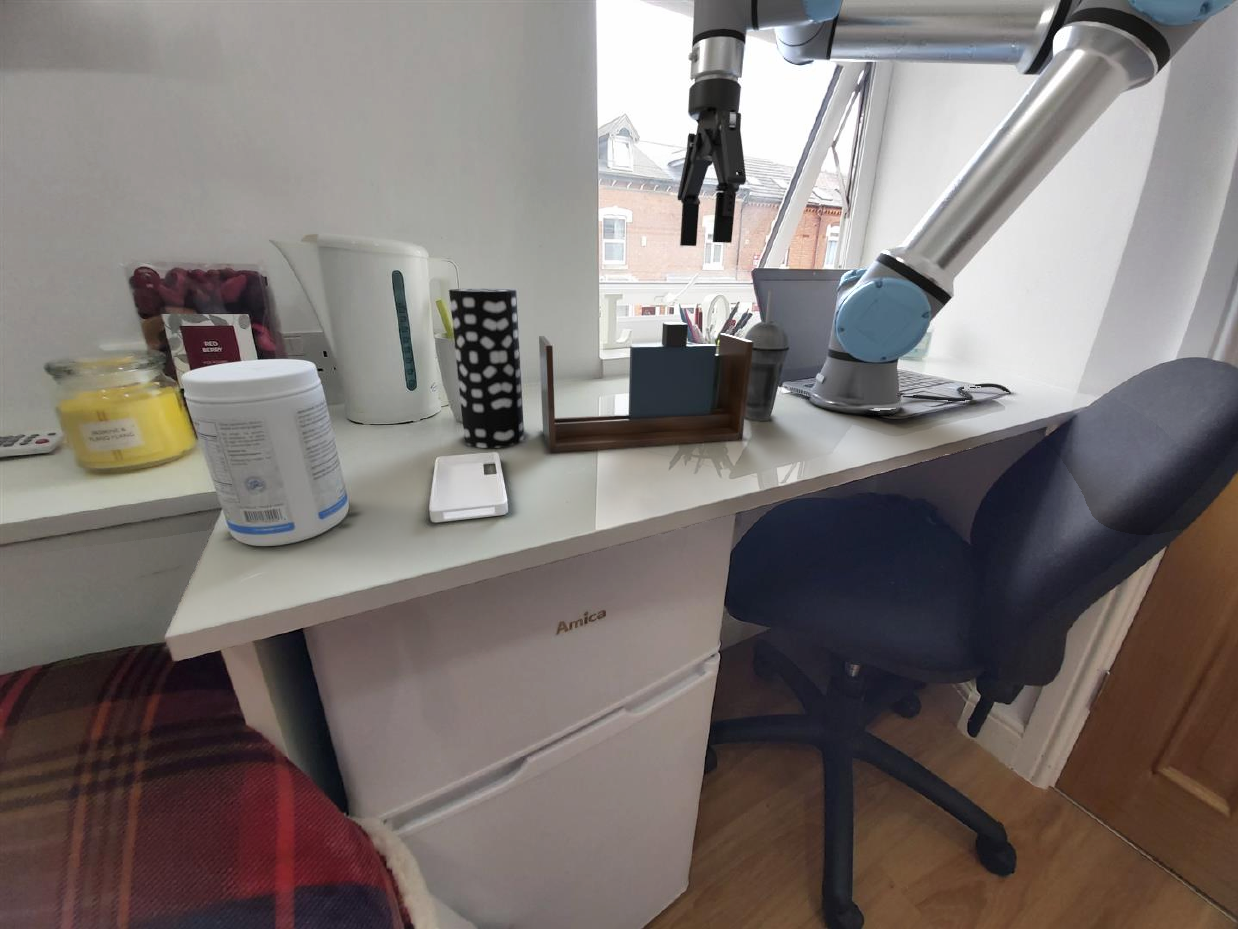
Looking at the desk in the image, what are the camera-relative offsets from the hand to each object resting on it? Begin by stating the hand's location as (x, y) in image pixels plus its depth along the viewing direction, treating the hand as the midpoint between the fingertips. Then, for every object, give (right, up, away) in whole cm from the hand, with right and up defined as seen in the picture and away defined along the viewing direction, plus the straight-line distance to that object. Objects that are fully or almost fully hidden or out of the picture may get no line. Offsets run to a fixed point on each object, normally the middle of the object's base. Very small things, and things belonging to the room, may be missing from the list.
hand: (703, 244), depth 80 cm
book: (-6, -30, -6) cm, 31 cm away
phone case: (-30, -38, -25) cm, 55 cm away
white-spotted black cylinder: (-31, -32, -9) cm, 46 cm away
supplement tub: (-44, -41, -33) cm, 69 cm away
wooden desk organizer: (-10, -31, -7) cm, 34 cm away
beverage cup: (+9, -28, +4) cm, 29 cm away
